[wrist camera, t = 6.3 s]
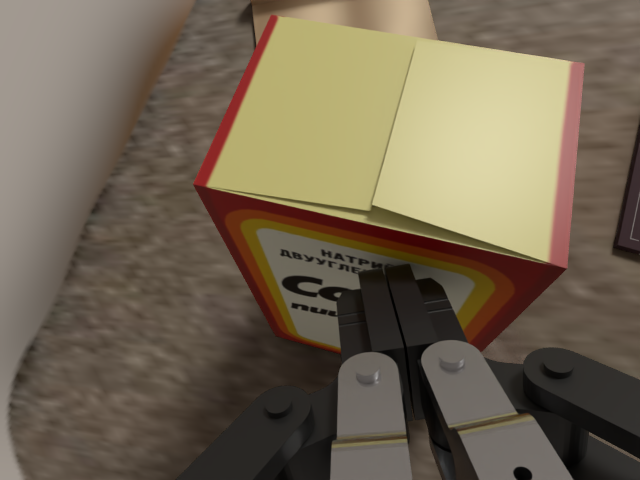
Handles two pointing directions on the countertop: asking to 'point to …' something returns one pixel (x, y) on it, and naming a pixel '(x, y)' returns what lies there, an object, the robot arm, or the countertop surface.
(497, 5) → the countertop surface
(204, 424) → the countertop surface
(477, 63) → the baking soda box
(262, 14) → the wooden board
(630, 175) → the chocolate bar
